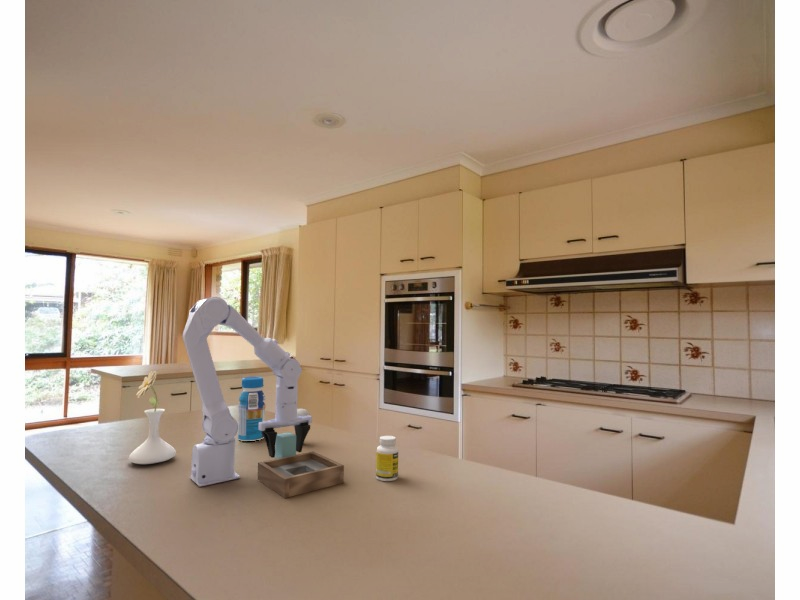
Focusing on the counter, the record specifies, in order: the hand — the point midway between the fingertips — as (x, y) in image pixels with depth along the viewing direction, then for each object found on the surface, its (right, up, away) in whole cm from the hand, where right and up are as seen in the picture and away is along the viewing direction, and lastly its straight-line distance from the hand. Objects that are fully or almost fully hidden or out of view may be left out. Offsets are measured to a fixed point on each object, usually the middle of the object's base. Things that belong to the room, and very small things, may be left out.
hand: (285, 454), depth 117 cm
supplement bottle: (+28, -3, -10) cm, 29 cm away
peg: (0, -3, 0) cm, 3 cm away
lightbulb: (-1, -4, +21) cm, 22 cm away
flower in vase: (-37, -3, +2) cm, 37 cm away
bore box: (+7, -2, -12) cm, 14 cm away
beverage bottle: (-18, -5, +26) cm, 32 cm away
